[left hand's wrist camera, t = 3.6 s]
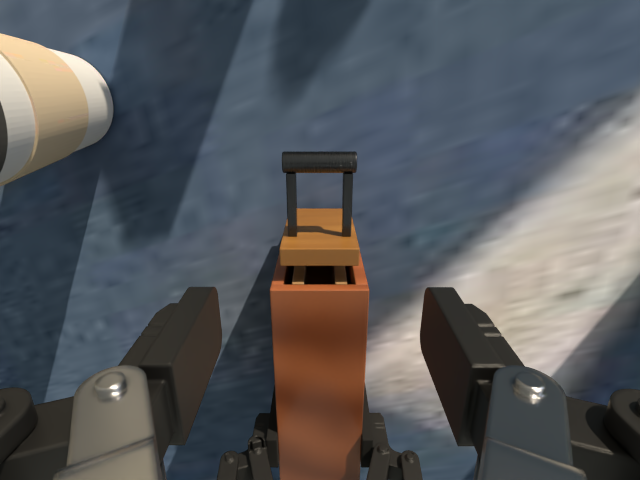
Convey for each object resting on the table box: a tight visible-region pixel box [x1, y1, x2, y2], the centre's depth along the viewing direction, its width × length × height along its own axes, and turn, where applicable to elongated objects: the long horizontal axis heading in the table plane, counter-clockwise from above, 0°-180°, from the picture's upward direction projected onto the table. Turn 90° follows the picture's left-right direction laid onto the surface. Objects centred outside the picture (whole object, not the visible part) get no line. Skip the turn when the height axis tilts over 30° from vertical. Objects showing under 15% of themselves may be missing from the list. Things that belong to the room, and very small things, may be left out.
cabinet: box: [270, 253, 369, 480], centre depth 32 cm, size 17×6×10 cm, turn 0°
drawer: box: [279, 152, 360, 285], centre depth 30 cm, size 22×5×9 cm, turn 0°
